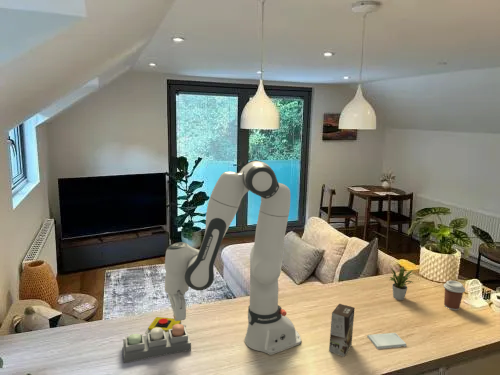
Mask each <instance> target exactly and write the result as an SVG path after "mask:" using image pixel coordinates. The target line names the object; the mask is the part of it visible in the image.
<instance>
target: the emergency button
mask: <svg viewBox="0 0 500 375" xmlns="http://www.w3.org/2000/svg"><path fill="white" fill-rule="evenodd" d="M176 324H182V320H180V321H175V320H174V317H173V318H172V317H164V316H162V317H161V316H156V317H155V318H154V319H153V321H152V322H151V323H150V325H149V326H148V328H147V329H146V330H145V331H144V335H147V333H151V330H152V329H153V328H162V329H163V330H164V331H165V332H169V329H172V327H173V326H174V325H176ZM182 325H183V326H184V327H185V328H186V329H187V325H186V324H182Z"/></svg>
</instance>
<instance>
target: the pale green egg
mask: <svg viewBox="0 0 500 375" xmlns="http://www.w3.org/2000/svg"><path fill="white" fill-rule="evenodd" d="M127 337H128V336H127ZM128 342H129V345H134V344H139V343H141V335H140V333H132V334H130V335H129V337H128Z"/></svg>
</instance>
